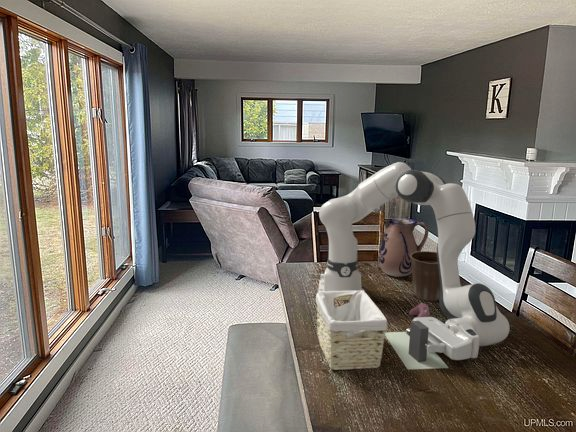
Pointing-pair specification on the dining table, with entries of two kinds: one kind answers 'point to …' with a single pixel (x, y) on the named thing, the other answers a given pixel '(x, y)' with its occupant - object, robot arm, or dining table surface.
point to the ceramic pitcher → (399, 246)
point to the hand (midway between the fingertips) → (416, 339)
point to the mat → (402, 349)
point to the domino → (418, 341)
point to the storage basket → (350, 330)
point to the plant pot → (425, 275)
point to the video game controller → (420, 310)
